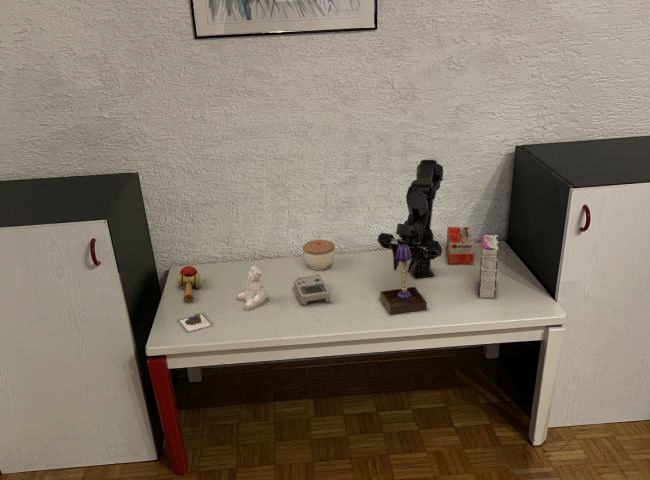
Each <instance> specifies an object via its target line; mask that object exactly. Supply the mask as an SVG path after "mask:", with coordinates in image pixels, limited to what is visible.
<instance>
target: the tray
mask: <svg viewBox="0 0 650 480" xmlns="http://www.w3.org/2000/svg"><path fill="white" fill-rule="evenodd" d="M400 291H402V290H401V288H396V289H387V290H380V291H379V300H380V301H381V303H382V304H383V307H384V308H385V309H386V311H387V312H388V314H389V315H390V316H393V315H400V314H408V313H416V312H422V311H427V309H428V308H427V307H428V306H427V305H428V302H427V301H426V299H425V298H424V296H422V294H421V293H420V292H419V290H418V289H417V288H416V286H411V287H407V291H409V292H410V293H411V298H410V299H408V300H401V299H399V298H398V297H397V295H398V293H399V292H400Z"/></svg>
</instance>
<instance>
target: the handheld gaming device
mask: <svg viewBox="0 0 650 480" xmlns="http://www.w3.org/2000/svg"><path fill="white" fill-rule="evenodd" d="M293 288H294V290H295V292H296V295H297V298H298V299H299V301H300V304H301V305H302V306H306V305H307V304H308V303H311V302H317V301H325V302H326V303H327V302H330V301H331V292H330V290H329V289H328V287H327V285H326V283H325V281H324V280H323V278H322V275H320V273H317V274H311V275H305V276H300V277H298V278H296V279H294V281H293Z"/></svg>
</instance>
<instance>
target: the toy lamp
mask: <svg viewBox="0 0 650 480" xmlns="http://www.w3.org/2000/svg"><path fill="white" fill-rule="evenodd" d="M411 259H412V257H411V253H410V249H409V246H408V245H407V244H401V245H399V246H398V249H397V253H396V260H398V261H400V273H401V274H400V281H401V284H400V285H401V288H400V289H401V290H402V291H400V292H399V293H398V295H397V297H398V298H399V299H401V300H408V299H410V298H411V293H410V292H409V291H407V288H408V264H407V262H408V261H411Z"/></svg>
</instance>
